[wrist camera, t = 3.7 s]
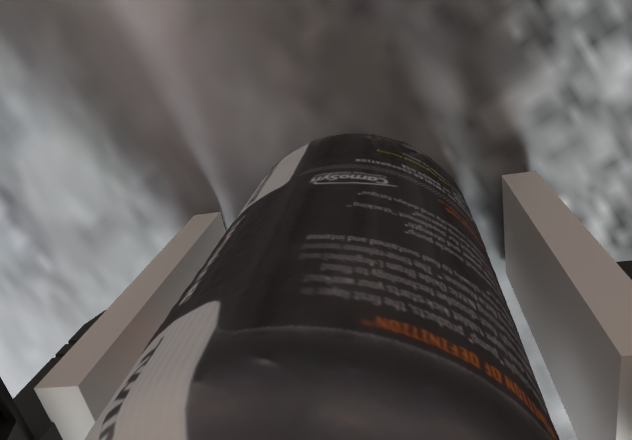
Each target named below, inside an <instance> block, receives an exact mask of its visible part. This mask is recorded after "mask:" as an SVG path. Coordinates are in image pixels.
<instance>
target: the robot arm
mask: <svg viewBox="0 0 632 440" xmlns="http://www.w3.org/2000/svg"><path fill="white" fill-rule="evenodd" d="M502 193H503V215H504V238H505V261H506V274H507V277H508V279H509V281H510V284H511V286H512V288H513V290H514V293H515V295H516V297H517V300H518V302H519V304H520V307H521V309H522V311H523V313H524V316H525V318H526V320H527V323H528V325H529V327H530V330H531V332H532V334H533V336H534V339H535V341H536V343H537V346H538V348H539V350H540V352H541V355H542V357H543V359H544V362H545V364H546V366H547V369H548V371H549V373H550V375H551V378H552V380H553V382H554V385H555V387H556V389H557V391H558V394H559V396H560V398H561V401H562V403H563V405H564V408H565V410H566V412H567V414H568V417H569V419H570V421H571V424H572V426H573V428H574V431H575V433H576V435H577V437H578V440H632V261H622V262H615V261H614V259H613V258H612V257H611V256H610V255H609V254H608V253H607V251H606V250H605V249H604V248H603V247H602V246H601V245H600V244H599V242H598V241H597V240H596V239H595V238H594V237H593V236H592V234H591V233H590V232H589V231H588V230H587V229H586V228H585V227H584V225H583V224H582V223H581V222H580V221H579V220H578V219H577V217H576V216H575V215H574V214H573V213H572V212H571V211H570V210H569V208H568V207H567V206H566V205H565V204H564V203H563V202H562V200H561V199H560V198H559V197H558V196H557V195H556V194H555V193H554V191H553V190H552V189H551V188H550V187H549V186H548V185H547V183H546V182H545V181H544V180H543V179H542V178H541V177H540V176H539V174H538V173H537V172H536V171H530V172H522V173H515V174H507V175H502ZM225 233H226V230H225V227H224V224H223V220H222V217H221V213H220V212H215V213H207V214H200V215H194V216H193V217H192V218H191V219H190V220H189V221H188V223H187V224H186V225H185V226H184V227H183V228H182V229H181V230H180V231H179V232H178V233H177V234H176V235H175V237H174V238H173V239H172V240H171V241H170V242H169V243H168V244H167V245H166V246H165V247H164V248H163V250H162V251H161V252H160V253H159V254H158V255H157V256H156V257H155V258H154V259H153V260H152V261H151V262H150V264H149V265H148V266H147V267H146V268H145V269H144V270H143V271H142V272H141V273H140V274H139V275H138V276H137V278H136V279H135V280H134V281H133V282H132V283H131V284H130V285H129V286H128V287H127V288H126V289H125V291H124V292H123V293H122V294H121V295H120V296H119V297H118V298H117V299H116V300H115V301H114V302H113V303H112V305H111V306H110V307H109V308H108V309H107V310H105V311H103V312H102V313H101V314H99V315H98V316H96V317H95V318H93V319H92V320H90V321H89V322H87V323H86V324H84V325H83V326H82V327H81V328H80V329H79V331H78V332H77V333H76V334H75V335H74V336H73V337H72V338H71V339H70V340H69V344H65V345H64V346H63V347H62V348H61V349H60V350H59V351H58V353H57V354H56V357H55V358H52V359H51V360H50V361H49V362H48V363H47V364H46V365H45V366H44V367H43V368H42V369H41V370H40V371H39V372H38V374H37V375H36V376H35V377H34V378H33V379H32V380H31V381H30V382H29V383H28V384H27V385H26V386H25V387H24V388H23V389H22V390H21V391H20V392H19V393H18V394H17V396H16V397H15V398H14V399H12V397H11V395H10V393H9V392H8V390H7V388H6V386H5V385H4V383H3V381H2V379H1V377H0V440H85V438H86V436H87V434H88V433H89V431H90V429H91V428H92V427H93V425H94V424H95V422H96V421H97V419H98V418H99V416H100V415H101V413H102V412H103V410H104V409H105V407H106V406H107V405H108V403H109V402H110V400H111V399H112V397H113V396H114V394H115V393H116V391H117V390H118V388H119V387H120V386H121V384H122V383H123V381H124V380H125V378H126V377H127V375H128V374H129V373H130V371H131V370H132V368H133V367H134V365H135V364H136V362H137V360H138V359H139V357H140V356H141V354H142V353H143V351H144V349H145V348H146V346H147V345H148V343H149V341H150V340H151V338H152V337H153V336H154V334H155V333H156V331H157V330H158V329H159V327H160V326H161V325H162V323H163V322H164V320H165V319H166V318H167V316H168V314H169V312H170V311H171V309H172V308H173V306H174V305H175V304H176V303H177V302H178V300H179V299H180V297H181V295H182V294H183V292H184V291H185V289H186V288H187V287H188V286H189V285H190V284H191V282H192V281H193V279H194V278H195V276H196V274H197V273H198V271H199V270H200V269H201V268H202V267H203V266H204V264H205V262H206V261H207V259H208V257H209V256H210V254H211V253H212V251H213V250H214V248H215V247H216V246H217V244H218V243H219V241H220V240H221V238H222V237H223V236H224V234H225Z"/></svg>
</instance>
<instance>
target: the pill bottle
mask: <svg viewBox="0 0 632 440" xmlns="http://www.w3.org/2000/svg"><path fill="white" fill-rule="evenodd" d="M85 440H560V439H559V437H558V435H557V432H556V430H555V428H554V425H553V423H552V421H551V419H550V416H549V413H548V410H547V408H546V405H545V402H544V399H543V397H542V394H541V392H540V389H539V387H538V384H537V382H536V379H535V376H534V374H533V371H532V368H531V366H530V363H529V360H528V358H527V355H526V353H525V350H524V347H523V345H522V342H521V339H520V336H519V333H518V331H517V328H516V325H515V323H514V320H513V318H512V316H511V314H510V310H509V308H508V306H507V303H506V300H505V298H504V295H503V293H502V290H501V288H500V285H499V283H498V280H497V277H496V274H495V272H494V270H493V268H492V265H491V262H490V260H489V257H488V255H487V252H486V248H485V246H484V243H483V241H482V239H481V236H480V233H479V231H478V229H477V226H476V224H475V222H474V220H473V218H472V215H471V212H470V210H469V208H468V206H467V204H466V202H465V199H464V197H463V195H462V193H461V192H460V190H459V188H458V187H457V185H456V184H455V182H454V181H453V179H452V178H451V177H450V176H449V175H448V174H447V173H446V172H445V171H444V170H443V169H442V168H441V167H440V166H439V165H438V164H437V163H436V162H434V161H433V160H432V159H431V158H430V157H428V156H427V155H425V154H423V153H422V152H420V151H419V150H417V149H416V148H414V147H412V146H410V145H408V144H406V143H404V142H400V141H394V140H391V139H387V138H384V137H381V136H376V135H365V134H344V135H336V136H330V137H326V138H322V139H318V140H315V141H312V142H310V143H308V144H306V145H304V146H302V147H300V148H299V149H297V150H295V151H293V152H292V153H290V154H289V155H287V156H286V157H285V158H283V159H282V160H281V161H280V162H279V163H277V164H276V165H275V166H274V167H273V168H272V169H271V171H270V172H269V173H268V174H267V175H266V176H265V178H264V179H263V180H262V182H261V183H260V185H259V186H258V187H257V189H256V190H255V192H254V193H253V195H252V196H251V198H250V199H249V201H248V202H247V203H246V205H245V206H244V208H243V209H242V211H241V212H240V213H239V215H238V216H237V218H236V219H235V221H234V222H233V224H232V225H231V226H230V227H229V229H228V230H227V231H226V233H225V234H224V236H223V237H222V238H221V240H220V241H219V243H218V244H217V246H216V247H215V248H214V250H213V251H212V253H211V254H210V256H209V257H208V259H207V261H206V262H205V264H204V266H203V267H202V268H201V269H200V270H199V271H198V273H197V274H196V276H195V278H194V279H193V281H192V282H191V284H190V285H189V286H188V287H187V288H186V289H185V291H184V292H183V294H182V295H181V297H180V299H179V300H178V302H177V303H176V304H175V305H174V306H173V308H172V309H171V311H170V312H169V314H168V316H167V318H166V319H165V320H164V322H163V323H162V325H161V326H160V327H159V329H158V330H157V331H156V333H155V334H154V336H153V337H152V338H151V340H150V341H149V343H148V345H147V346H146V348H145V349H144V351H143V353H142V354H141V356H140V357H139V359H138V360H137V362H136V364H135V365H134V367H133V368H132V370H131V371H130V373H129V374H128V375H127V377H126V378H125V380H124V381H123V383H122V384H121V386H120V387H119V388H118V390H117V391H116V393H115V394H114V396H113V397H112V399H111V400H110V402H109V403H108V405H107V406H106V407H105V409H104V410H103V412H102V413H101V415H100V416H99V418H98V419H97V421H96V422H95V424H94V425H93V427H92V428H91V429H90V431H89V433H88V434H87V436H86V438H85Z"/></svg>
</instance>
